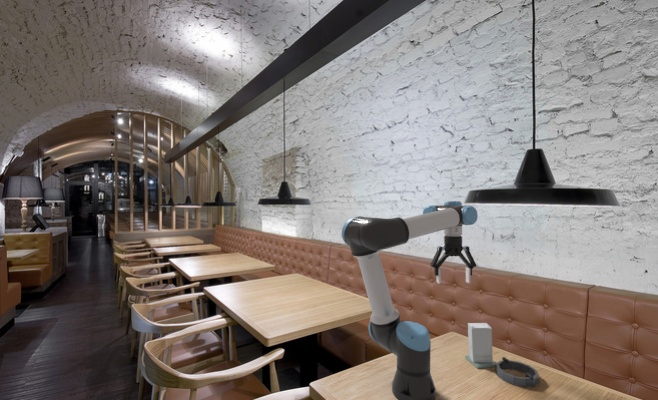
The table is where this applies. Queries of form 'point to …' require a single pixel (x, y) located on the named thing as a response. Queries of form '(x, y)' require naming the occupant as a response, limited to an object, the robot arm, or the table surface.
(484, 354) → the skincare box
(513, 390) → the table surface
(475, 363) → the plate
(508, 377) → the locking ring
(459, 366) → the table surface
